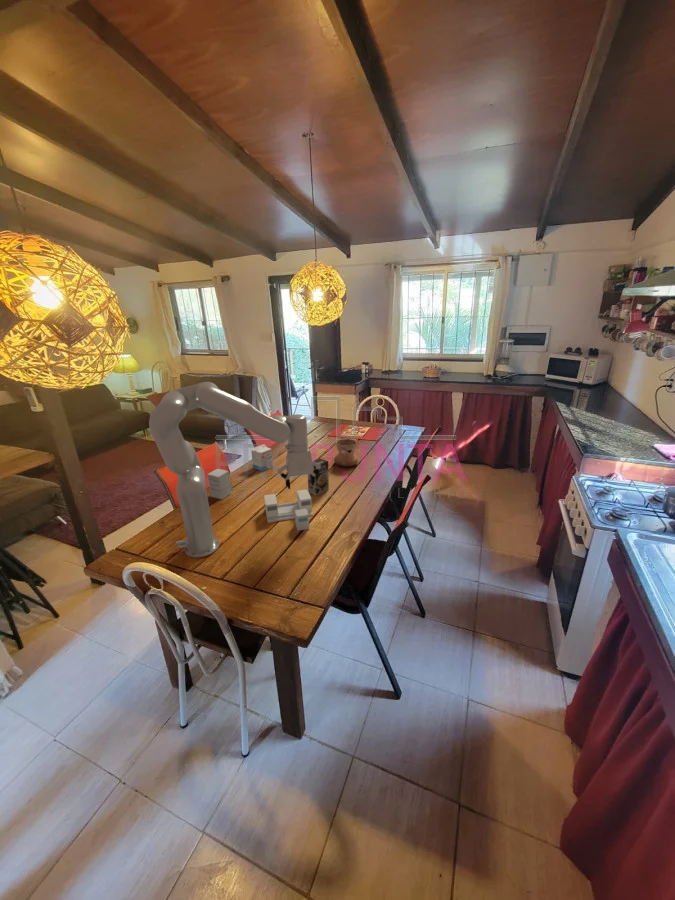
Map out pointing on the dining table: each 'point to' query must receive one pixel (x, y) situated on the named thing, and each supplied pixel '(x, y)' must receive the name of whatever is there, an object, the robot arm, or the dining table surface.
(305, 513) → the block
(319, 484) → the coffee box
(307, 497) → the white channel bracket
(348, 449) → the ceramic jug
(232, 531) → the dining table surface
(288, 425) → the robot arm
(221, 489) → the supplement box
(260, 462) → the ink box
